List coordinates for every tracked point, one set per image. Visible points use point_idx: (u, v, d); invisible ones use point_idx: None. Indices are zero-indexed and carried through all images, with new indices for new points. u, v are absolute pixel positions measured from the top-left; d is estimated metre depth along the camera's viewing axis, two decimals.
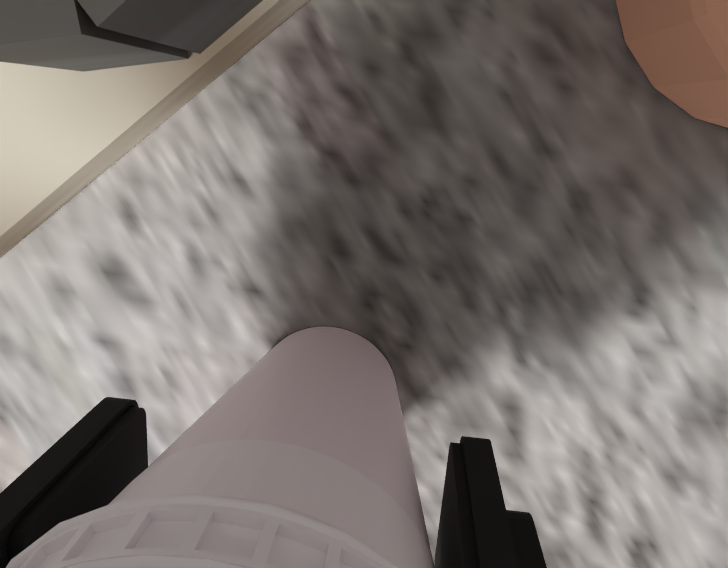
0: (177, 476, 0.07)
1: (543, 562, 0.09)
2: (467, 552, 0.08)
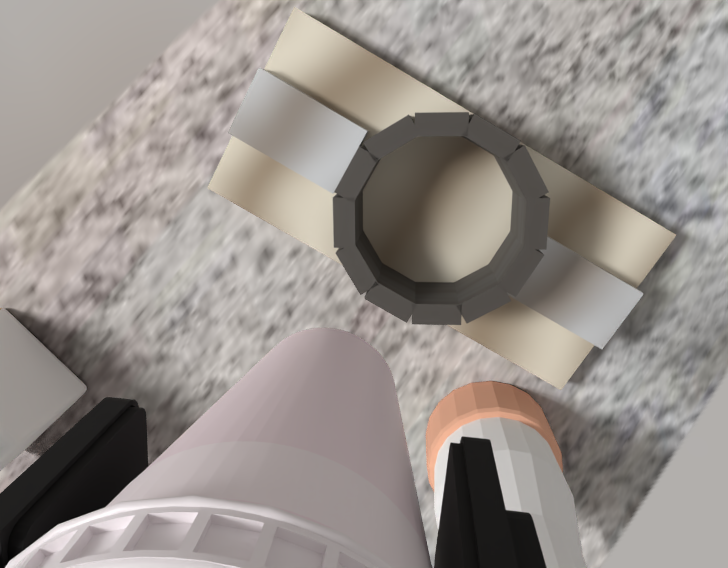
0: (176, 478, 0.07)
1: (543, 562, 0.09)
2: (467, 552, 0.08)
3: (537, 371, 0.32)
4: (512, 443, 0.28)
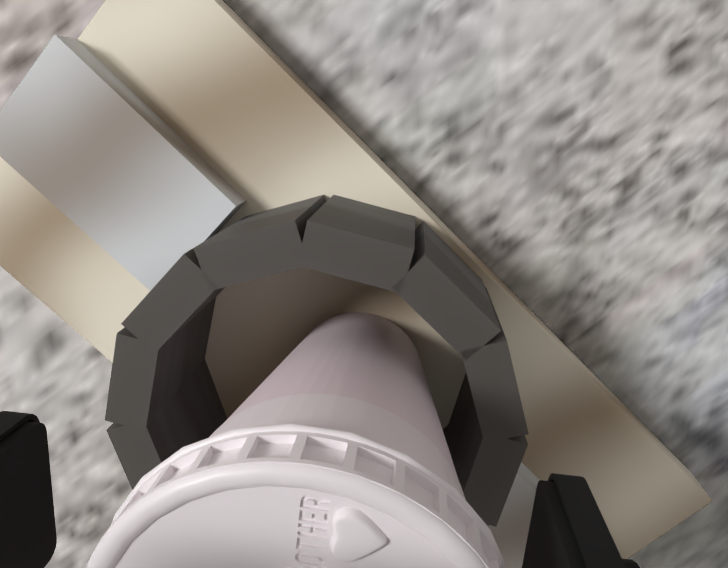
0: (265, 418, 0.09)
1: None
2: None
3: None
4: None
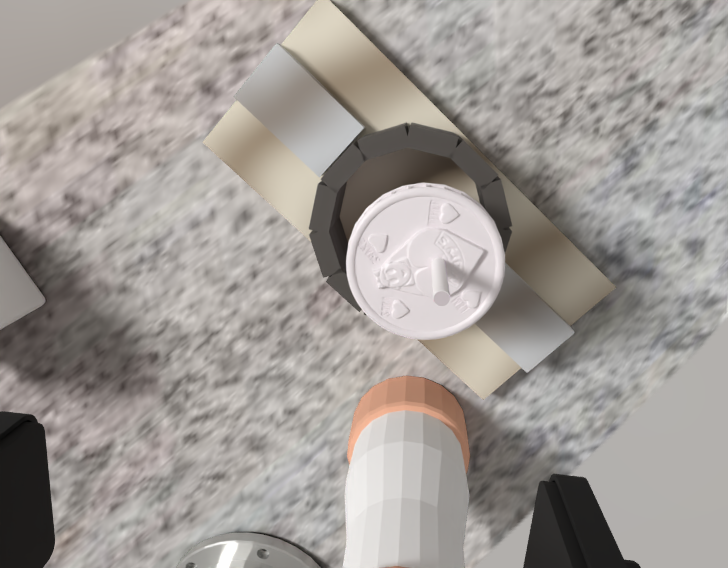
0: None
1: None
2: None
3: (466, 379, 0.35)
4: (427, 438, 0.31)
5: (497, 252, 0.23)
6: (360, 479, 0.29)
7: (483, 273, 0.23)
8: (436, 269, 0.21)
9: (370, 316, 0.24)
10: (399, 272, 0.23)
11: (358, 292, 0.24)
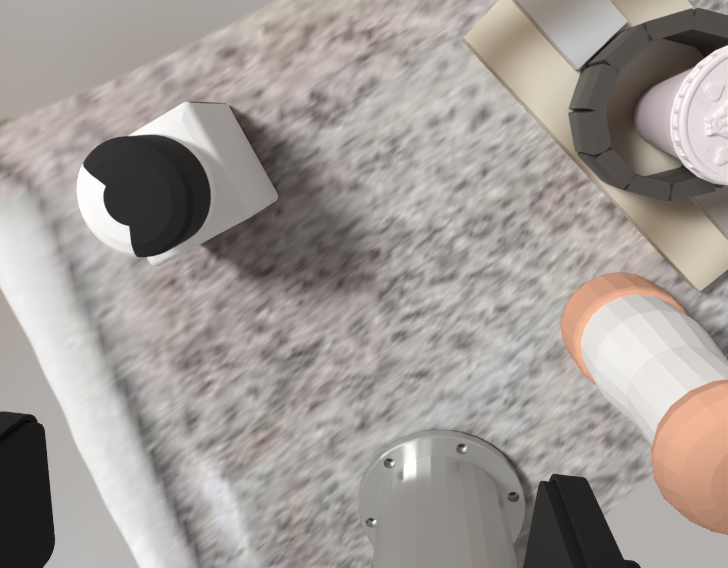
0: None
1: None
2: None
3: (686, 270, 0.38)
4: (677, 311, 0.33)
5: None
6: (627, 341, 0.32)
7: None
8: None
9: (695, 163, 0.27)
10: None
11: (687, 140, 0.26)
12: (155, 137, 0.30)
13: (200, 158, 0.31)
